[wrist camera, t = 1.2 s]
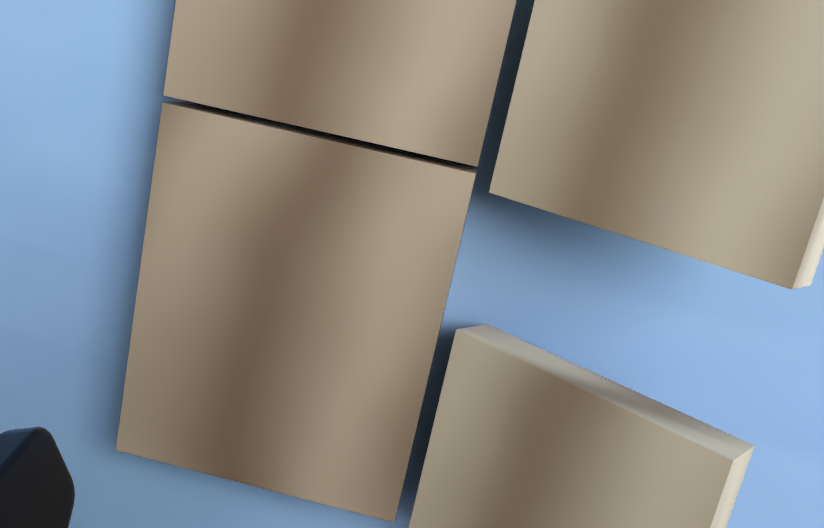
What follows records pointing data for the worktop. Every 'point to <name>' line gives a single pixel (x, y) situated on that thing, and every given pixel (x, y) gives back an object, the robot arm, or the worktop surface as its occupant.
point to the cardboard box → (306, 237)
